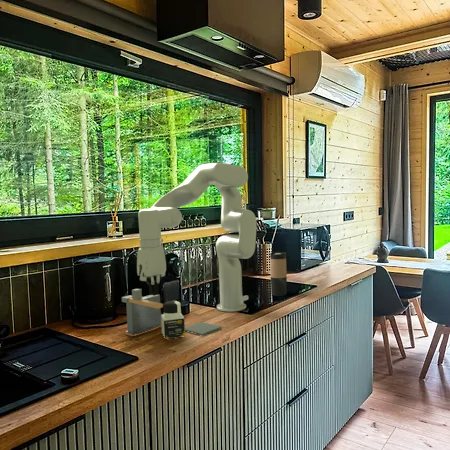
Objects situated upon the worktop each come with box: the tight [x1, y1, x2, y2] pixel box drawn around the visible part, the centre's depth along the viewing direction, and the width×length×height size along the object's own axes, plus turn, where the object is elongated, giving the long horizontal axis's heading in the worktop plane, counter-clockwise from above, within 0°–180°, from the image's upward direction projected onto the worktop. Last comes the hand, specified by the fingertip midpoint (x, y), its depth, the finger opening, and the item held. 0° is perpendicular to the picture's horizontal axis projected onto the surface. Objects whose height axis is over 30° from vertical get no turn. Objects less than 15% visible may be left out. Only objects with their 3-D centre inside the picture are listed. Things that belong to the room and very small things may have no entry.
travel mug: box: [269, 251, 288, 297], centre depth 204 cm, size 8×8×20 cm
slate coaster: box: [185, 321, 222, 337], centre depth 155 cm, size 10×10×1 cm
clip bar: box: [121, 288, 164, 309], centre depth 145 cm, size 4×19×5 cm, turn 49°
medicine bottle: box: [161, 300, 186, 339], centre depth 149 cm, size 7×7×12 cm
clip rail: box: [125, 294, 162, 335], centre depth 156 cm, size 14×4×12 cm, turn 139°
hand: (154, 294), depth 152 cm, fingers closed
